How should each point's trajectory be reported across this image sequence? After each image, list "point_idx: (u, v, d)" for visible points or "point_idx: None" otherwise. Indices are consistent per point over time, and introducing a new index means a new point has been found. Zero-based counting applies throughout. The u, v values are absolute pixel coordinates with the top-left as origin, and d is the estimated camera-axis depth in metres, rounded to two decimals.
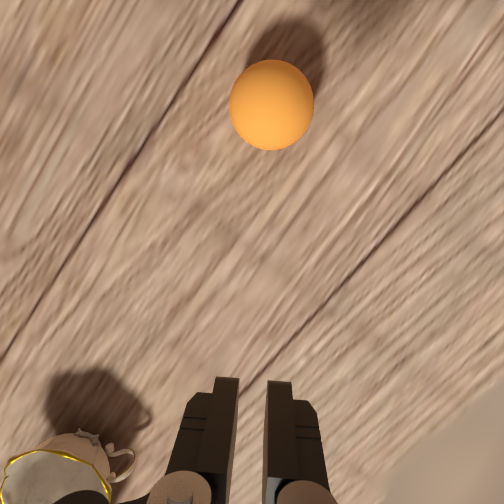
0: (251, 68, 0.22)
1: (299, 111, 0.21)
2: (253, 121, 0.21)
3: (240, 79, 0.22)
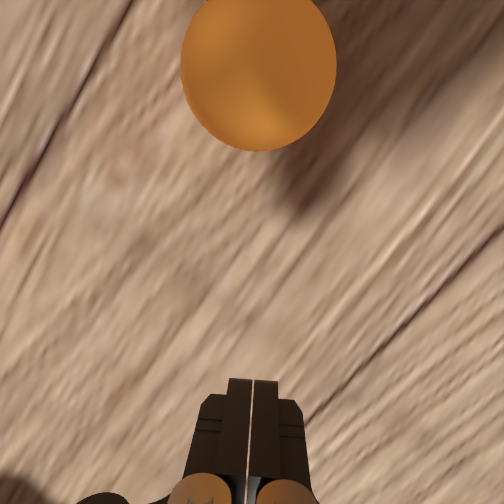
0: None
1: (312, 77, 0.11)
2: (223, 98, 0.11)
3: (197, 16, 0.11)
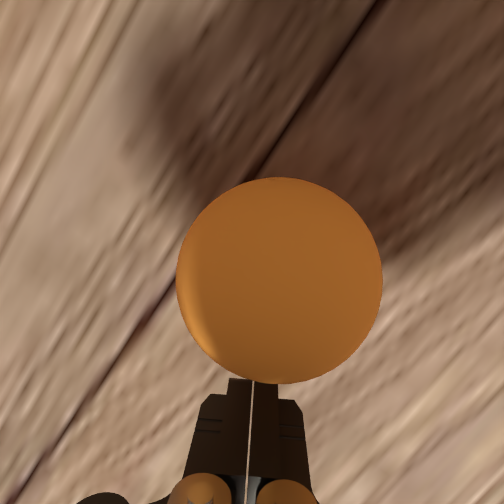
0: None
1: None
2: None
3: None
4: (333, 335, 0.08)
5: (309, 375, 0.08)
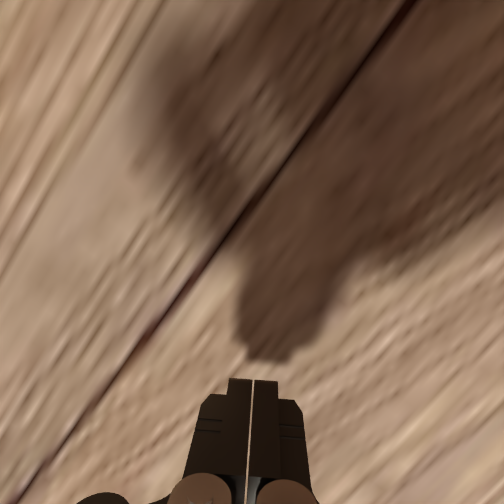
0: None
1: None
2: None
3: None
4: None
5: None
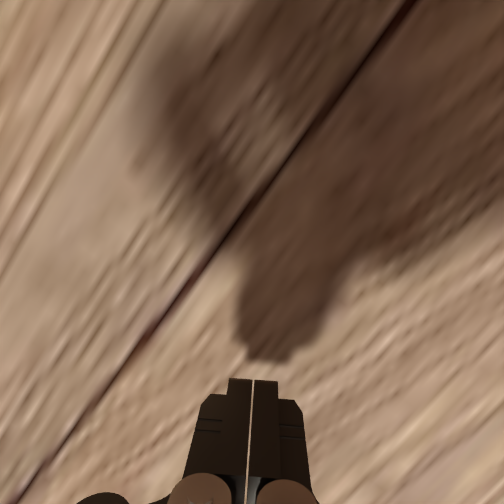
0: None
1: None
2: None
3: None
4: None
5: None
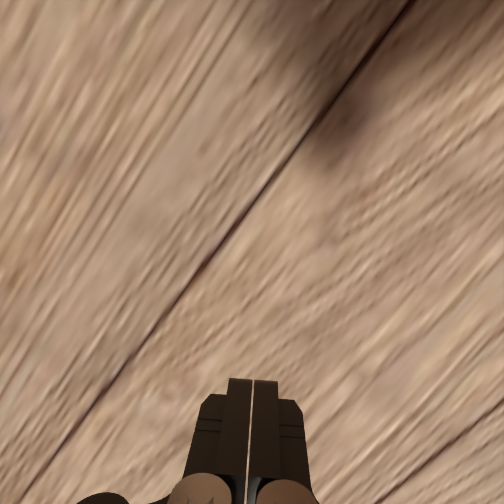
0: None
1: None
2: None
3: None
4: None
5: None
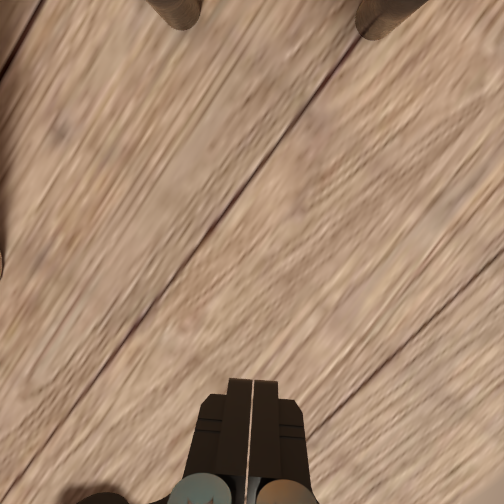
0: None
1: None
2: None
3: None
4: None
5: None
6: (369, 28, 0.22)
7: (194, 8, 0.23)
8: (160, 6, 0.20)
